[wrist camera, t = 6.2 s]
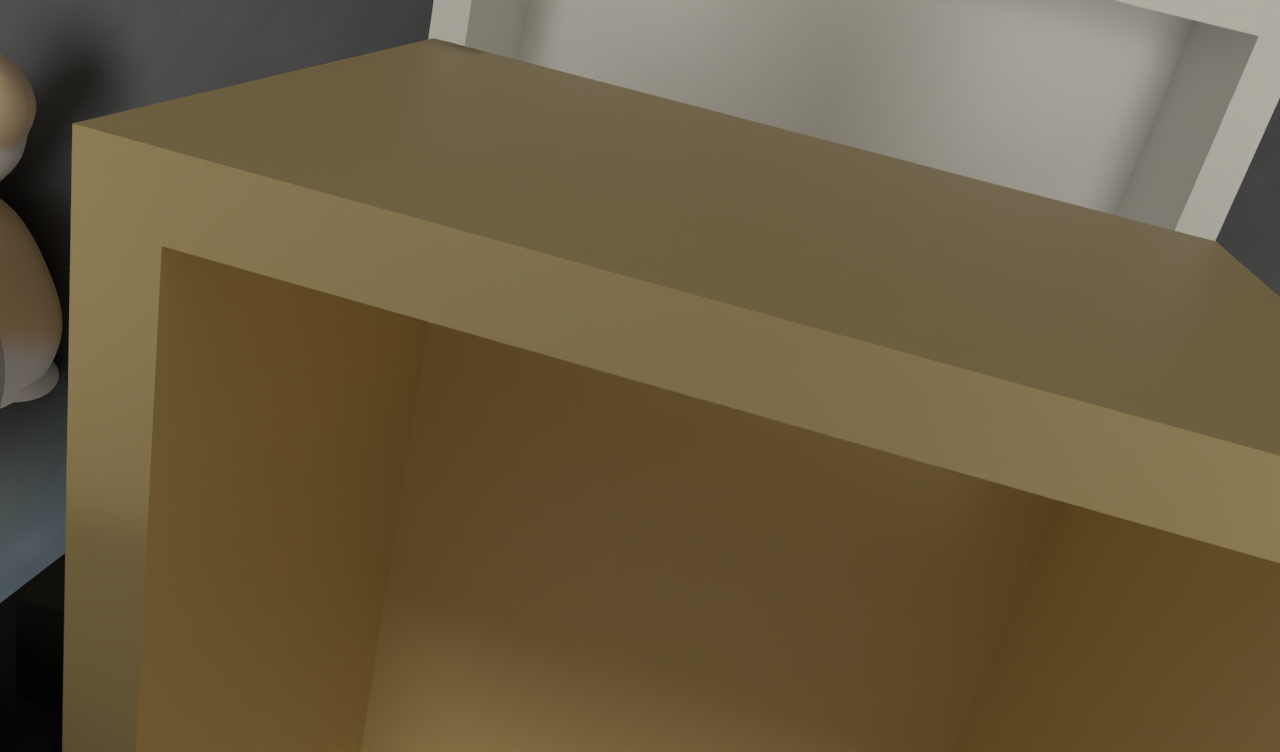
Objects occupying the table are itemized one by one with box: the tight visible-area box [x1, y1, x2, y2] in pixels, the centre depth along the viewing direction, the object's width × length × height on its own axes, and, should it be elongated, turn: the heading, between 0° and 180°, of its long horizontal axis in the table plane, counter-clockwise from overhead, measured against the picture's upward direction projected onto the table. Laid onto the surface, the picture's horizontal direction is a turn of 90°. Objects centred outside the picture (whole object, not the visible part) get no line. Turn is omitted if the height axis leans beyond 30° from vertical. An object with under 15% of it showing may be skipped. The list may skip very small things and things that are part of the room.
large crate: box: [428, 0, 1280, 241], centre depth 23 cm, size 14×14×4 cm
